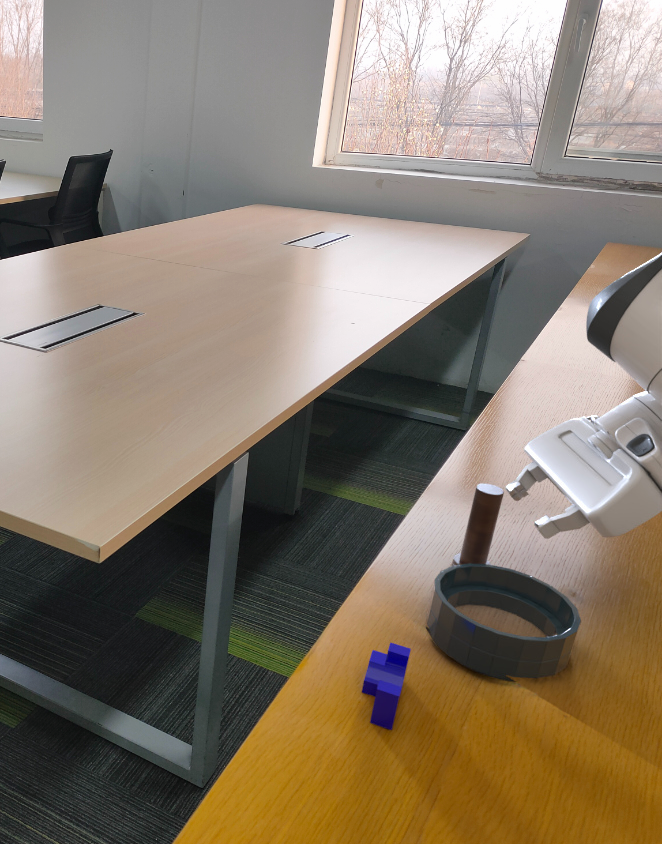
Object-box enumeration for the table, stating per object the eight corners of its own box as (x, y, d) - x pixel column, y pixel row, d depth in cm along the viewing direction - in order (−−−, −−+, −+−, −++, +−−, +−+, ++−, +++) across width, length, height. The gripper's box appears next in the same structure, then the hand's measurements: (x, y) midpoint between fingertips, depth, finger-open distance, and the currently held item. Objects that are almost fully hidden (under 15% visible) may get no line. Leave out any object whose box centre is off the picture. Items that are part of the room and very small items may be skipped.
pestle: (494, 585, 99) (518, 492, 94) (473, 596, 97) (496, 500, 92) (462, 569, 103) (483, 477, 98) (441, 578, 100) (462, 485, 95)
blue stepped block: (368, 669, 84) (375, 637, 82) (403, 680, 82) (410, 648, 81) (353, 717, 77) (360, 683, 75) (391, 730, 75) (399, 696, 74)
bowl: (591, 659, 86) (607, 612, 84) (518, 707, 79) (533, 657, 77) (472, 594, 97) (483, 551, 95) (398, 631, 90) (407, 585, 88)
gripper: (579, 393, 99) (480, 458, 104) (667, 459, 80) (541, 535, 85) (607, 429, 101) (508, 492, 105) (700, 503, 82) (575, 576, 86)
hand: (523, 512), depth 95 cm, fingers open, 8 cm apart
